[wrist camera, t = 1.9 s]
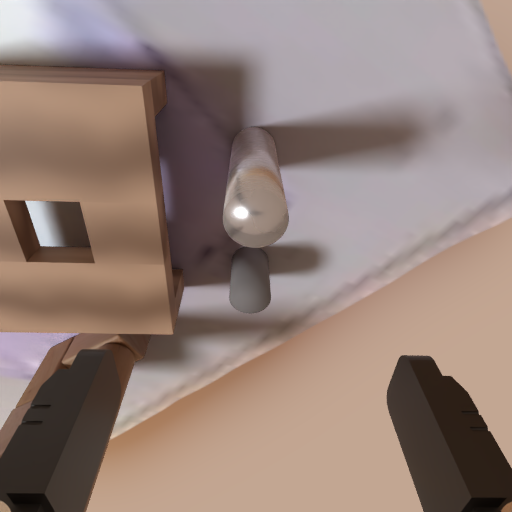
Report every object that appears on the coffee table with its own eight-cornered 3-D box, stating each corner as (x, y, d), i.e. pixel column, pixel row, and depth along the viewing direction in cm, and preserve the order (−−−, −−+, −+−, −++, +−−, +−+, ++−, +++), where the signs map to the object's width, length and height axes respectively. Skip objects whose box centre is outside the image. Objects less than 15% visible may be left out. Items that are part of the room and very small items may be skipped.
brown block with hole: (-56, 62, 24) (-138, 76, 19) (164, 70, 24) (141, 85, 19) (30, 284, 34) (-9, 331, 29) (184, 287, 34) (173, 334, 29)
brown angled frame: (49, 346, 38) (-81, 563, 23) (129, 307, 35) (41, 525, 20) (75, 367, 40) (-30, 580, 25) (154, 330, 37) (89, 547, 22)
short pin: (231, 245, 32) (229, 281, 27) (269, 246, 32) (271, 281, 28) (231, 275, 33) (229, 313, 29) (267, 276, 33) (269, 313, 29)
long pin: (231, 126, 26) (222, 188, 17) (276, 127, 26) (291, 190, 17) (231, 169, 28) (223, 247, 19) (274, 170, 28) (285, 248, 19)
